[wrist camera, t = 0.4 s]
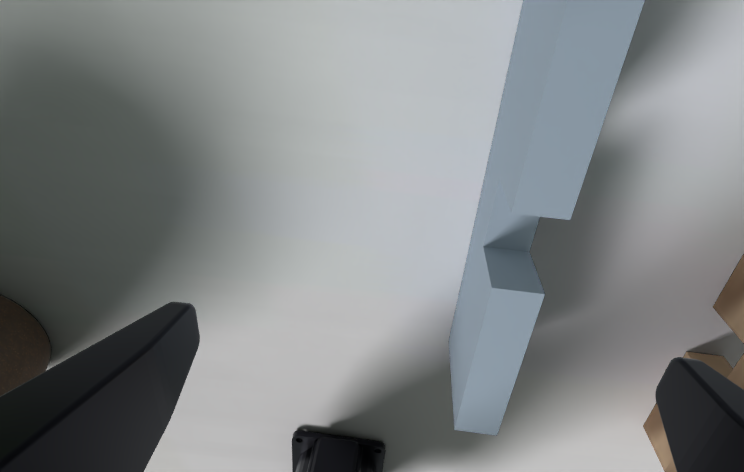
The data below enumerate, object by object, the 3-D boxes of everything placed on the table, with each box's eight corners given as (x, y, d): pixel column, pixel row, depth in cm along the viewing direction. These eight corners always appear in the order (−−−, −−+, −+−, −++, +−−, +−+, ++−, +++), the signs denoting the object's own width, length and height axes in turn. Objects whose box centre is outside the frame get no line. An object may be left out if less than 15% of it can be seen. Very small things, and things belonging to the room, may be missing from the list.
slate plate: (483, 345, 27) (497, 435, 22) (448, 341, 27) (454, 429, 22) (594, -63, 17) (670, -76, 11) (538, -68, 17) (589, -83, 12)
